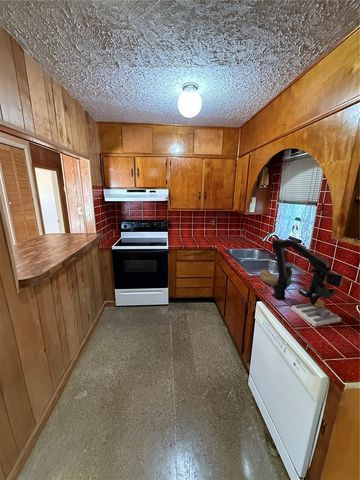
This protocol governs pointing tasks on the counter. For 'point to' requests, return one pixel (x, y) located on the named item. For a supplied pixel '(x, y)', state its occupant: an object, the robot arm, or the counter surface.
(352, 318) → the counter surface
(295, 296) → the counter surface
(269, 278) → the sponge
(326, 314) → the fader grey
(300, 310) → the console
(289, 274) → the supplement bottle
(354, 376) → the counter surface
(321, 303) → the fader orange
